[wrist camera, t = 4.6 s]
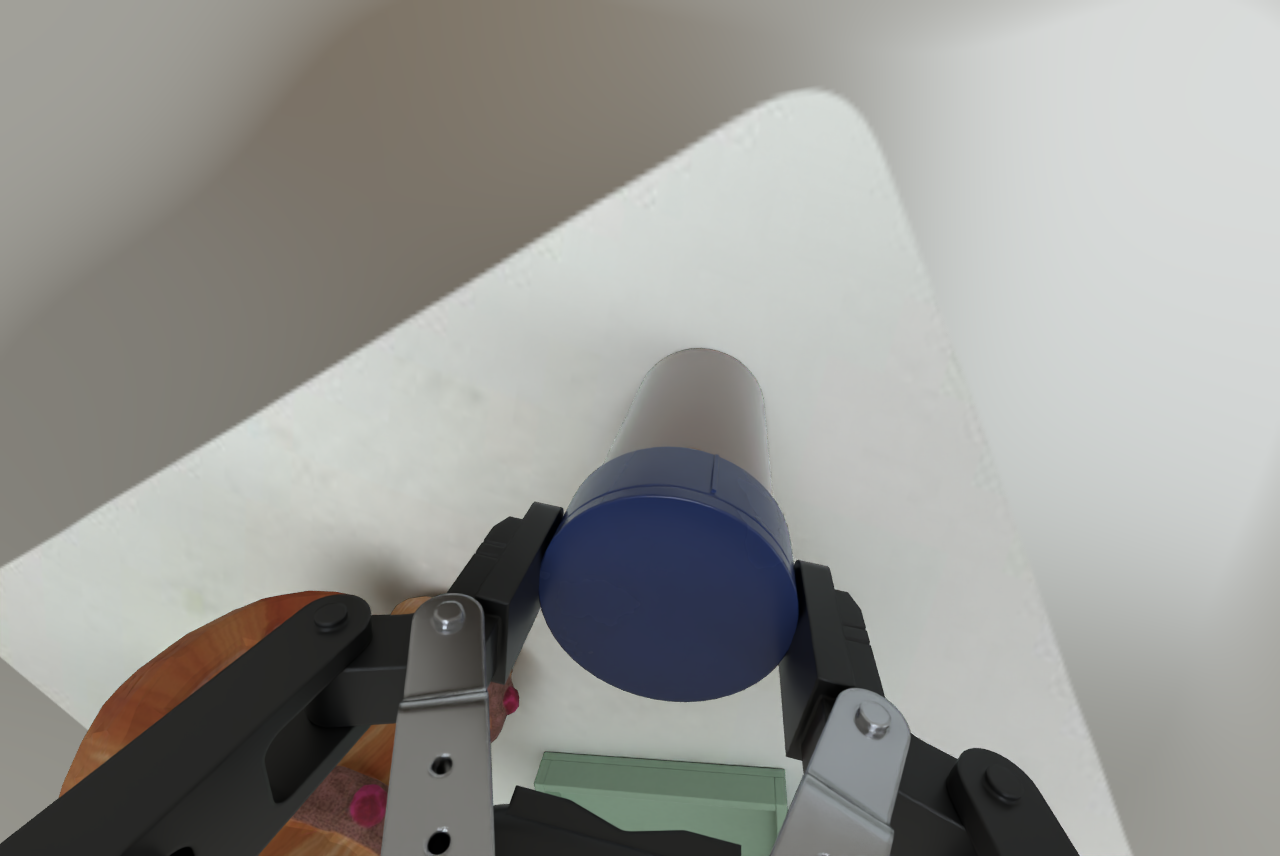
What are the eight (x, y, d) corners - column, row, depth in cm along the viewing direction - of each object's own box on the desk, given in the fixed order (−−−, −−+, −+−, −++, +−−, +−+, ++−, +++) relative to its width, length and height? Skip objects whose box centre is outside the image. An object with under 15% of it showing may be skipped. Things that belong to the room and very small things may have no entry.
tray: (784, 768, 31) (787, 805, 29) (788, 885, 36) (791, 922, 34) (544, 751, 34) (533, 783, 32) (576, 861, 38) (568, 894, 37)
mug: (565, 682, 31) (430, 1075, 18) (453, 711, 34) (262, 1071, 20) (411, 469, 27) (73, 777, 13) (296, 521, 29) (-82, 821, 16)
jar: (751, 335, 21) (759, 476, 11) (774, 455, 23) (798, 664, 13) (622, 362, 23) (529, 509, 13) (654, 474, 24) (594, 678, 15)
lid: (601, 408, 13) (576, 451, 11) (834, 495, 13) (851, 555, 11) (542, 587, 16) (513, 649, 14) (736, 660, 16) (735, 734, 14)
